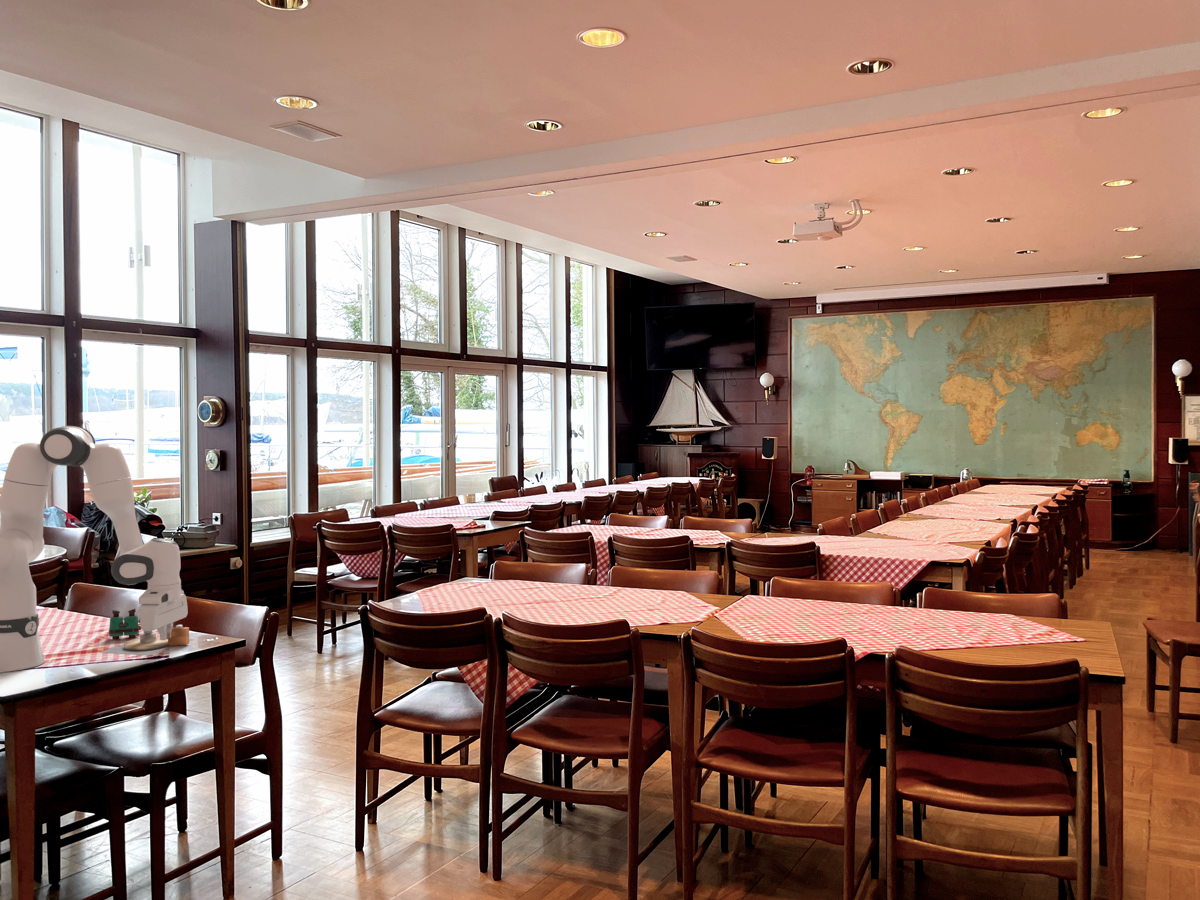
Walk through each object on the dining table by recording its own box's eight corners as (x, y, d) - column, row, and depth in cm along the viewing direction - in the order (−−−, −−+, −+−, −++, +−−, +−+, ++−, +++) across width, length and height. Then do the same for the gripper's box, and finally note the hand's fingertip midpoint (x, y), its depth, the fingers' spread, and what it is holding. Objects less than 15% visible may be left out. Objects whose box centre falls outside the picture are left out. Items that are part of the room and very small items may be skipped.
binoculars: (142, 606, 289) (138, 609, 280) (142, 639, 288) (138, 642, 279) (111, 608, 286) (106, 611, 276) (111, 641, 285) (106, 645, 276)
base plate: (99, 657, 262) (98, 630, 262) (147, 641, 282) (147, 616, 281) (148, 660, 258) (148, 633, 258) (194, 644, 278) (194, 618, 278)
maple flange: (115, 650, 263) (114, 633, 263) (137, 639, 276) (137, 623, 276) (177, 649, 264) (177, 632, 263) (197, 639, 277) (197, 623, 276)
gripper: (172, 586, 275) (173, 631, 275) (135, 599, 254) (135, 647, 255) (192, 586, 275) (193, 631, 275) (156, 599, 254) (157, 647, 255)
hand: (165, 639), depth 265 cm, fingers closed
